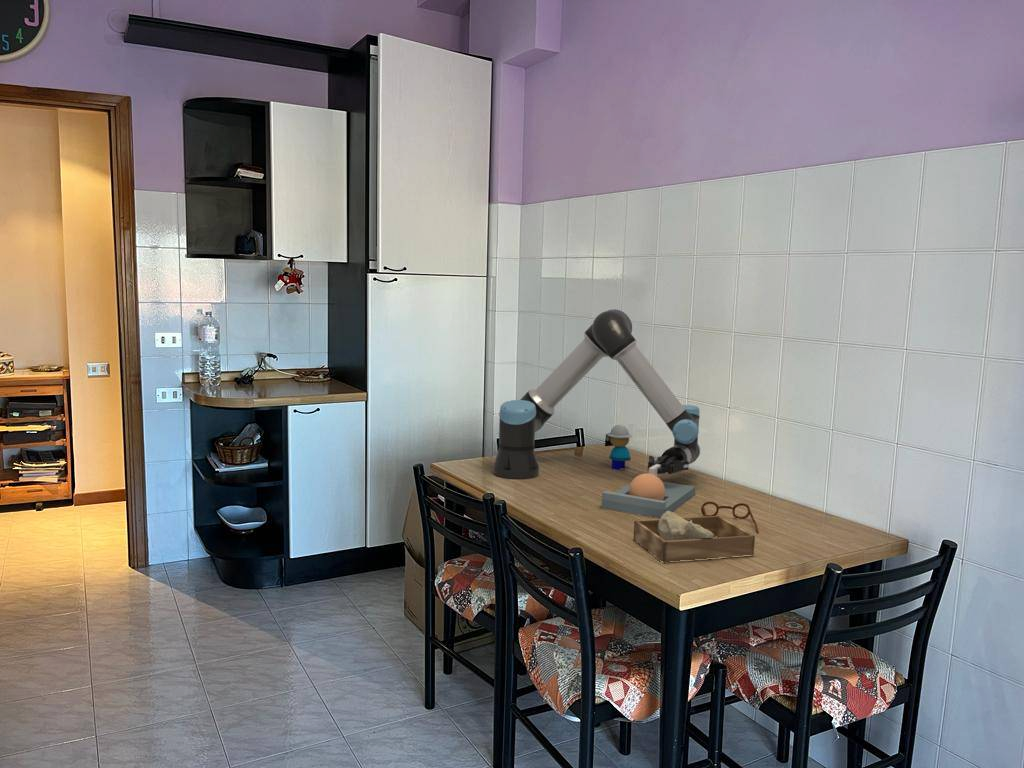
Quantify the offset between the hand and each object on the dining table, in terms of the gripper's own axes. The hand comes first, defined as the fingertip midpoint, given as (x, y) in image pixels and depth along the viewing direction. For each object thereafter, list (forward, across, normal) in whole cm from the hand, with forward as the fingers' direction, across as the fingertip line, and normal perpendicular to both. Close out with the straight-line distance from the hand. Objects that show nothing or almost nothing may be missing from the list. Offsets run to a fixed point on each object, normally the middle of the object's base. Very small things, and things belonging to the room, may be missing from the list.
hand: (651, 473), depth 231 cm
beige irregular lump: (+34, -23, -9) cm, 42 cm away
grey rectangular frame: (0, 0, -8) cm, 9 cm away
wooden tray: (+33, -23, -8) cm, 41 cm away
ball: (+7, -2, -4) cm, 8 cm away
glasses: (+9, -25, -9) cm, 28 cm away
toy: (-34, +23, -9) cm, 42 cm away
